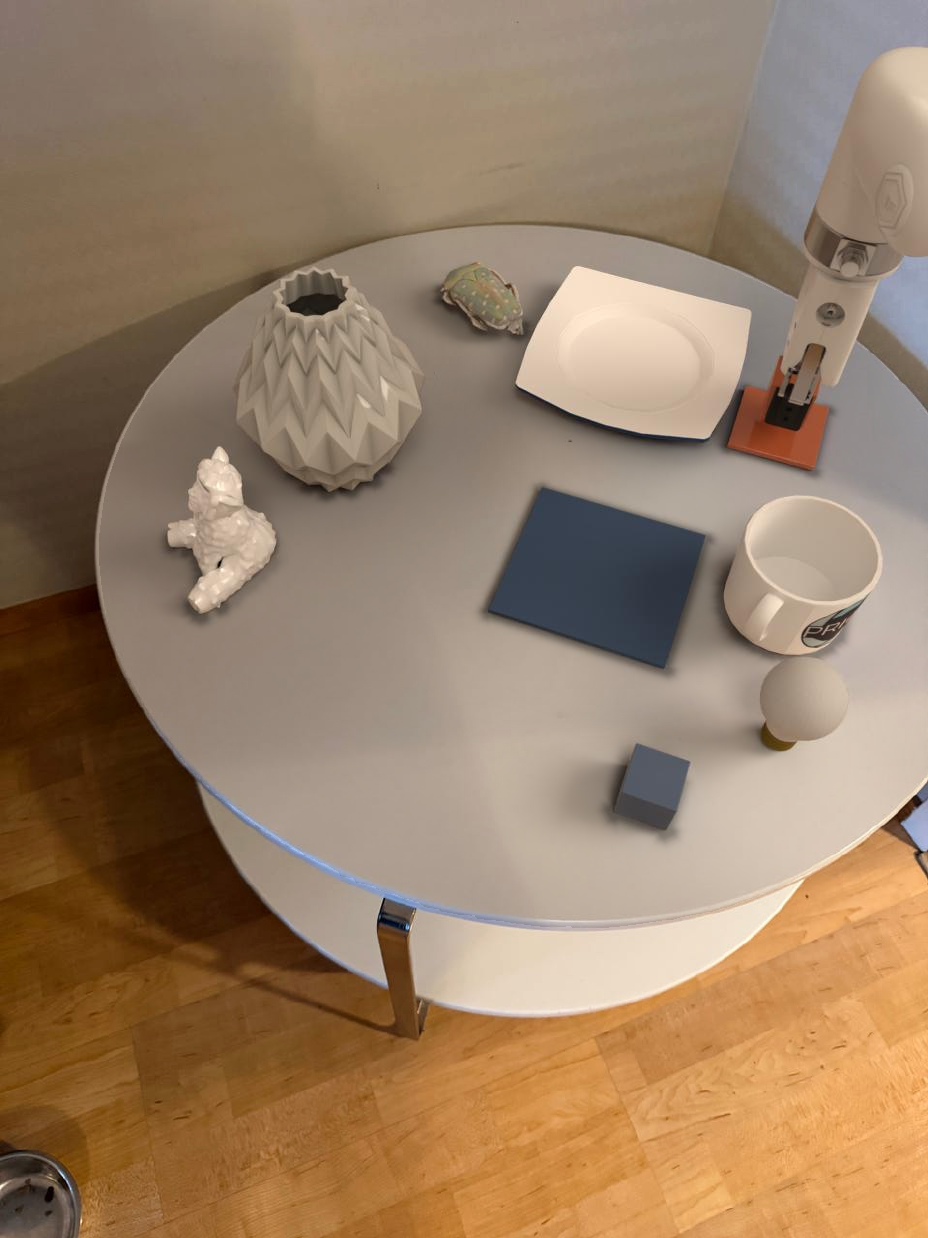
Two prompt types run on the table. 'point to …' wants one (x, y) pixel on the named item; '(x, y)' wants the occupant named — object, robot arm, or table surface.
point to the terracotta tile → (776, 433)
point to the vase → (327, 383)
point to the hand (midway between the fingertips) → (786, 405)
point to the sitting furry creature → (222, 533)
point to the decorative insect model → (484, 297)
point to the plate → (636, 357)
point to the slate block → (652, 786)
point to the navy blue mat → (600, 576)
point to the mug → (800, 574)
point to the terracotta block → (777, 382)
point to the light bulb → (801, 702)
